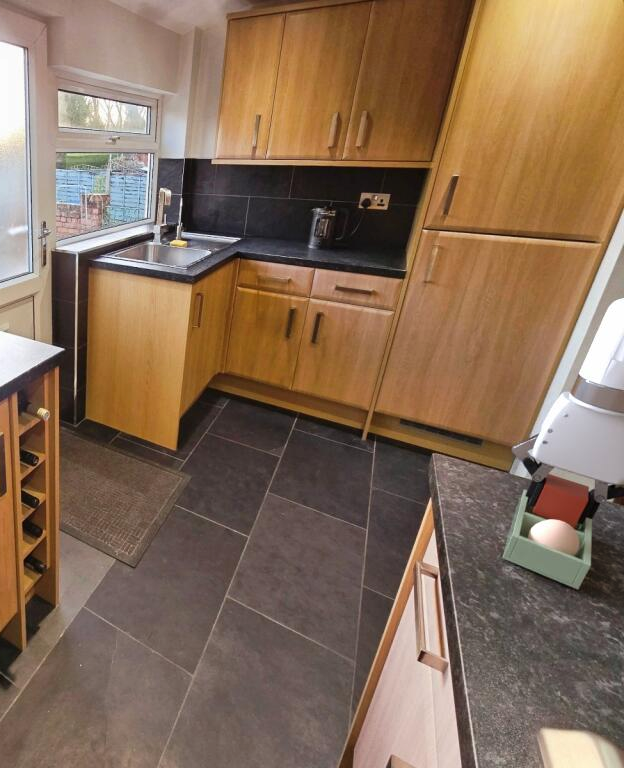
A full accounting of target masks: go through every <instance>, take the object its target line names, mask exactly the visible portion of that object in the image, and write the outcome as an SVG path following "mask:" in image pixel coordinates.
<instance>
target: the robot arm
mask: <svg viewBox="0 0 624 768" xmlns="http://www.w3.org/2000/svg"><path fill="white" fill-rule="evenodd" d="M531 450H532V453H531V454H532V455H531V454H530V452H529V451H531ZM511 453H513V455H514V456H515V457H516V458H517V459H518V460H519V461H520V462H521V463H522V465H523V467H524V468H525V469H526V470H527V472H528V474H529V475H530V477H531V482H529V485H528V488H527V489H526V490H527V492H526V495H525V496H526V497H529V498H530V501H529V506H531V507H533V506H534V507H535V505H536V503H537V501H538V499H539V497H540V494H541V492H542V490H543V488H544V486H545V481H546V476H547V475H548V474H550V473H551V472H552V470H554V469H555V468H556V469H559V470H562V471H566V472H568V473H572V474H575V475H578V476H582V477H583V478H584V477H585V478H587V479H591V480H594V487H593V488H592V489H590V490H589V498H588V502H587V504H586V506H585V508H584V510H583V512H582V514H581V516H580V518H579V520H578V523H579V524H582V525H583V523H584V521H585V519H586V518H589V519H592V520H593V519H594V517H595V515H596V513H597V511H598V509H599V507H600V505H601V504H603V503H605V502H607V501H609V500H614V499H618V498H624V297H622V298H619V299H616V300H615V301H613V302H612V303H611V304H610V305H609V306H608V307H607V309H606V311H605V314H604V316H603V318H602V320H601V323H600V325H599V327H598V329H597V331H596V334H595V336H594V338H593V341H592V343H591V345H590V347H589V350H588V352H587V354H586V356H585V359H584V360H583V363H582V365H581V368H580V370H579V372H578V374H577V377H576V378H575V381H574V383H573V386H572V388H571V390H570V391H563V392H561V394H560V395H559V396H558V398H557V399H556V401H555V402H554V403H553V405H552V406H551V408H550V410H549V412H548V413H547V415H546V417H545V419H544V421H543V422H542V425H541V427H540V429H539V431H538V432H537V434H535V435H532V436H530V437H528V438H526V439H524V440H522V441H520V442H517V443H515V444H513V445H512V447H511ZM538 462H539V463H538Z"/></svg>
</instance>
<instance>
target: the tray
mask: <svg viewBox="0 0 624 768" xmlns="http://www.w3.org/2000/svg"><path fill="white" fill-rule="evenodd" d="M527 490H528V489H523V490H522V493H521V495H520V498H519V500H518V503H517V504H516V507H515V511H514V514H513V518H512V521H511V525H510V528H509V531H508V535H507V539H506V542H505V546H504V550H503V554H502V559H503V560H506V561H509V562H511V563H513V564H515V565H518V566H521V567H522V568H525V569H528V570H530V571H532V572H535V573H537V574H539V575H542V576H544V577H546V578H549V579H551V580H554V581H555V582H558V583H561V584H562V585H563V584H564V585H566V586H568V587H571V588H573V589H576V590H579V589H580V588H581V585H582V583H583V582H584V580H585V578H586V576H587V574H588V573H589V571H590V569H591V567H592V539H593V538H592V537H593V535H592V534H593V533H592V532H593V519H589V518H586V519H585V521H584V523H583V525H582V524H579V523H578V522H577V524H576V526H575V528H574V527H573V529H574V530H575V531H576V533H577V535H578V538H579V543H580V545H579V550H578V552H577V554H576V555H575V556H571V555H568V554H566V553H563V552H561V551H558V550H555V549H553V548H550V547H548V546H545V545H543V544H540V543H537V542H535V541H532V540H530V539H528V535H529V532H530V530H531V529H532V527H533V526H534V525H535V524H537V523H539V522H542V521H545V520H549V518H546V517H543V516H540V515H538V514H535V513H533V509H534V506H533V507H531V506H529V501H530V498H529V497H526V496H525V495H526V492H527Z"/></svg>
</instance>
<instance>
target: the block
mask: <svg viewBox="0 0 624 768" xmlns="http://www.w3.org/2000/svg"><path fill="white" fill-rule="evenodd" d="M589 491H590V486H588V485H585V484H582V483H579V482H575V481H572V480H569V479H566V478H563V477H560V476H557V475H554V474H550V473H549V474H548V475H547V476H546V481H545V486H544V488H543V490H542V492H541V494H540V497H539V499H538V501H537V503H536V505H535V507H534V509H533V513H535V514H538V515H540V516H543V517H546V518H549V519H554V520H560V521H563V522H566V523H567V524H569V525H570V526H571V527H574V528H575V526H576V524H577V522H578V520H579V518H580V516H581V514H582V512H583V510H584V508H585V506H586V504H587V502H588V498H589Z"/></svg>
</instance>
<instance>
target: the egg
mask: <svg viewBox="0 0 624 768" xmlns="http://www.w3.org/2000/svg"><path fill="white" fill-rule="evenodd" d="M528 539H530V540H532V541H535V542H537V543H540V544H543V545H545V546H548V547H550V548H553V549H555V550H558V551H561V552H563V553H566V554H568V555H571V556H575V555H576V554H577V552H578V550H579V545H580V543H579V538H578V535H577V533H576V531H575V530H574V529H573V527H571V526H570V525H569V524H567V523H566V522H563V521H560V520H554V519H549V520H545V521H542V522H539V523H537V524H535V525H534V526H533V527H532V529H531V530H530V532H529V535H528Z"/></svg>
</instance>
